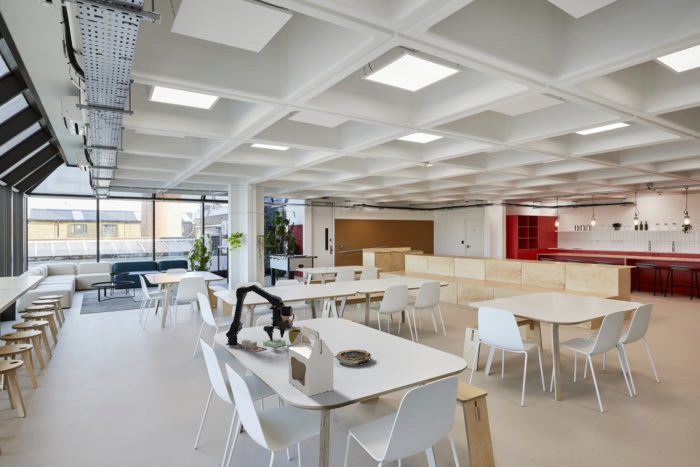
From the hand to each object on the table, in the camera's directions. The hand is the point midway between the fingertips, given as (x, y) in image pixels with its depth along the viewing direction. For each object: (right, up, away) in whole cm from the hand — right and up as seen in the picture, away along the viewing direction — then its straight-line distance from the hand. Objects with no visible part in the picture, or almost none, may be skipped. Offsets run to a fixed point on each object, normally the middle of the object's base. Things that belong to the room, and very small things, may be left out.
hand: (276, 339), depth 263 cm
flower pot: (+13, -5, +5) cm, 14 cm away
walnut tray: (-15, -5, -6) cm, 17 cm away
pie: (+51, -5, -32) cm, 61 cm away
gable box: (+30, -4, -71) cm, 77 cm away
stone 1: (-20, -4, -3) cm, 21 cm away
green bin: (-2, -5, +1) cm, 5 cm away
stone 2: (0, -4, 0) cm, 4 cm away
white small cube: (-15, -4, -6) cm, 17 cm away
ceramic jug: (-4, -5, +55) cm, 55 cm away
